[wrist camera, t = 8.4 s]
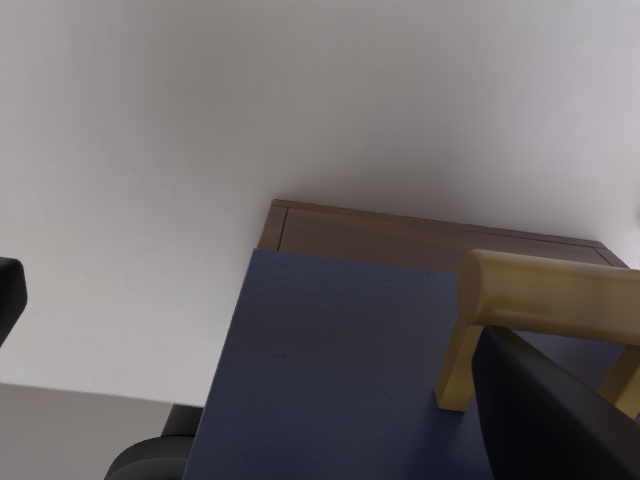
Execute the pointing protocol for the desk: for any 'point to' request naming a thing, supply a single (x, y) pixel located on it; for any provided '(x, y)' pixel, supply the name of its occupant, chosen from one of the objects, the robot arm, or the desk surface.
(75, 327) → the desk surface
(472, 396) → the lid
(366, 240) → the chest
